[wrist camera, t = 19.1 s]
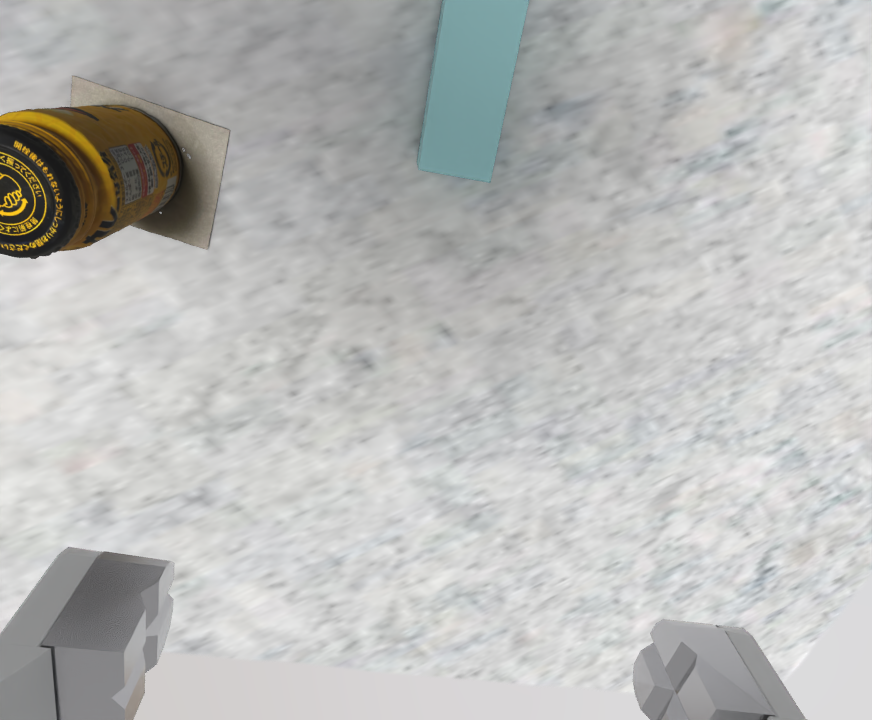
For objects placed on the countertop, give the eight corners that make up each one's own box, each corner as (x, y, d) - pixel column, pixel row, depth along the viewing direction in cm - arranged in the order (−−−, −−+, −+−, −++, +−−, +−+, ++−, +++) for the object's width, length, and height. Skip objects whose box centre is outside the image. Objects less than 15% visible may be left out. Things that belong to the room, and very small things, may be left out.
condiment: (74, 75, 31) (-99, 71, 20) (230, 130, 33) (147, 153, 22) (64, 204, 34) (-91, 260, 23) (209, 248, 36) (126, 320, 25)
